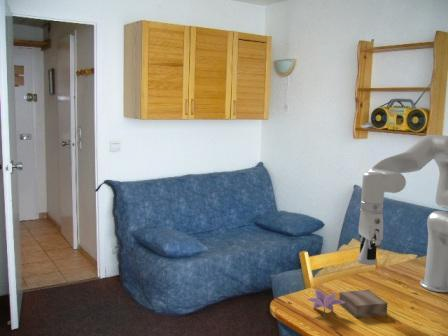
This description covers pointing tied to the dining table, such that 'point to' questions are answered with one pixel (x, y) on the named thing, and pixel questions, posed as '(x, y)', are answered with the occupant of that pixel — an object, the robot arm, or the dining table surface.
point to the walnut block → (363, 304)
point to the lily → (324, 300)
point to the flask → (363, 255)
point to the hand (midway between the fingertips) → (367, 256)
